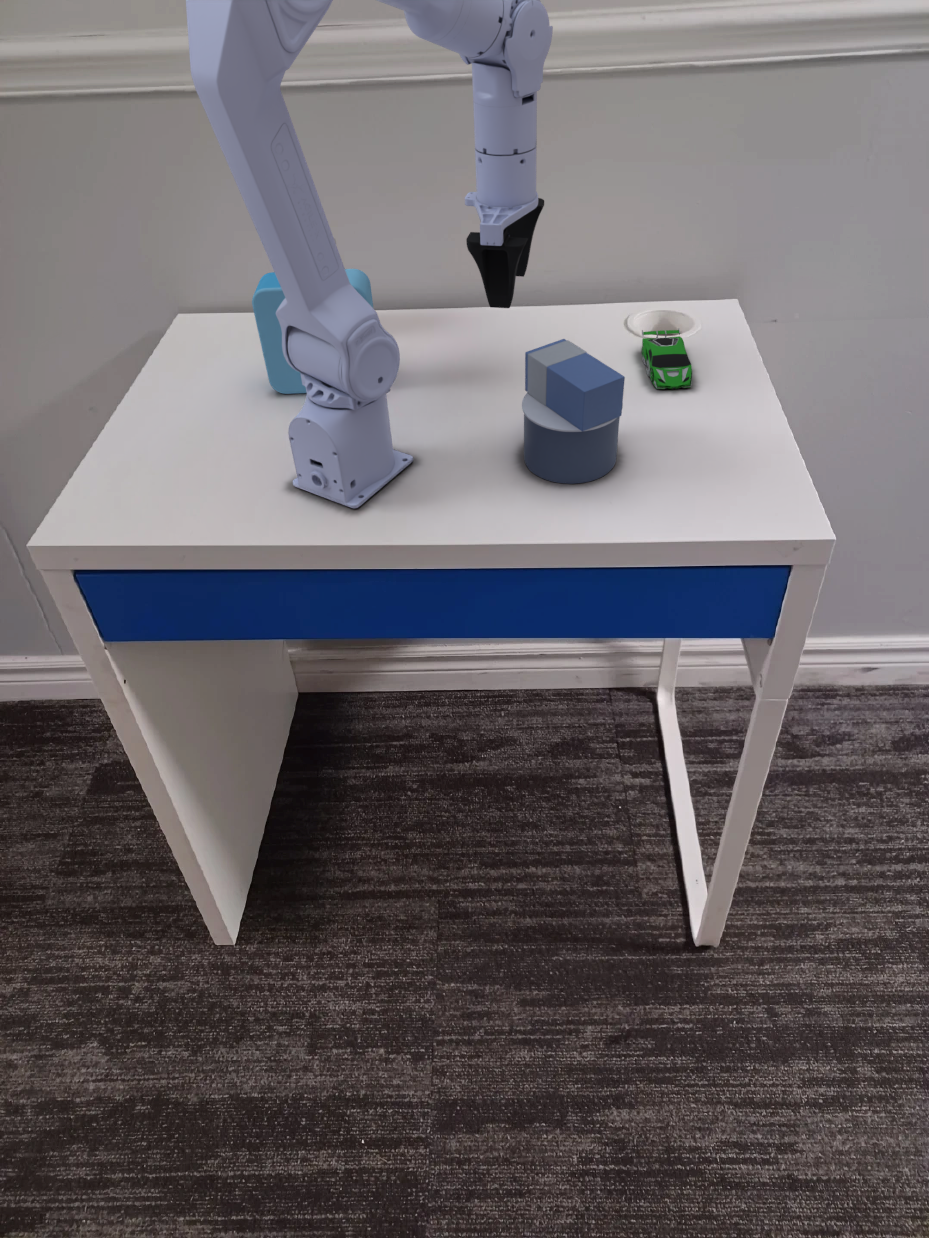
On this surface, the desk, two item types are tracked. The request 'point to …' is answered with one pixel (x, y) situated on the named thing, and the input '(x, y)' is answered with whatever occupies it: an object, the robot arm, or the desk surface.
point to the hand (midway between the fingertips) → (507, 290)
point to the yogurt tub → (566, 445)
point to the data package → (271, 333)
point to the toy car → (666, 360)
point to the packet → (574, 384)
